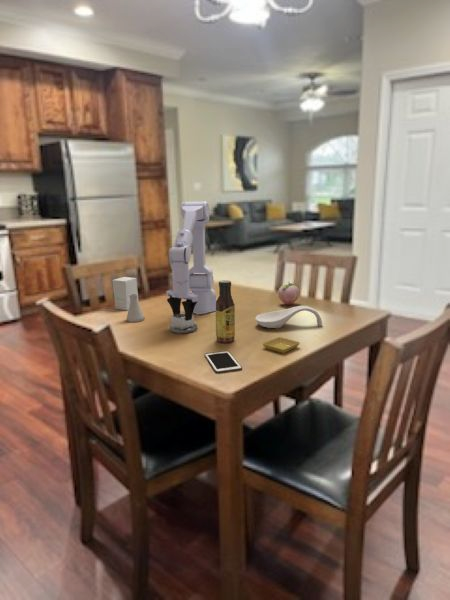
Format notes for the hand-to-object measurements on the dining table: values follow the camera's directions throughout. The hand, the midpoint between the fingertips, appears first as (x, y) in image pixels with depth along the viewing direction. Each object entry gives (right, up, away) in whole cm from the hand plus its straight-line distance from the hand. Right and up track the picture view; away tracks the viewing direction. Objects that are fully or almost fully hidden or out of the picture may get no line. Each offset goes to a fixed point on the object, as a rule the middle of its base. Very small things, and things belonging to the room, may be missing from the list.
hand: (182, 318), depth 162 cm
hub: (0, -4, +1) cm, 4 cm away
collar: (0, -3, +1) cm, 3 cm away
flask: (-20, -1, +15) cm, 25 cm away
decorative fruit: (+41, +4, +30) cm, 51 cm away
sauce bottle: (+15, -7, -11) cm, 20 cm away
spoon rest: (+38, -3, +3) cm, 38 cm away
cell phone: (+14, -12, -30) cm, 35 cm away
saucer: (+32, -9, -19) cm, 39 cm away
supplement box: (-27, +3, +33) cm, 42 cm away
